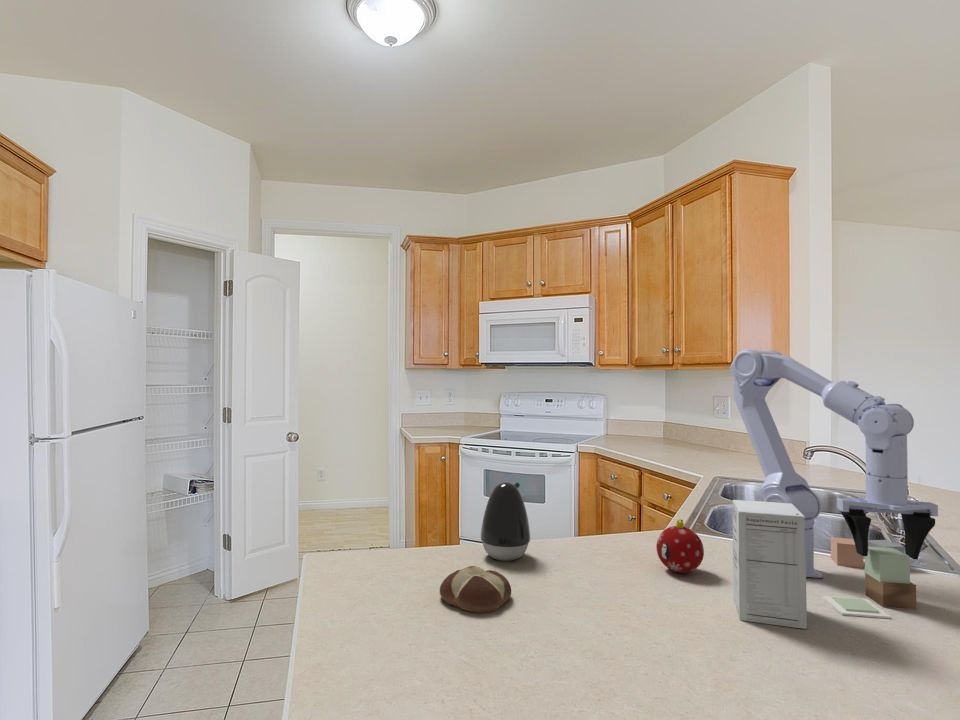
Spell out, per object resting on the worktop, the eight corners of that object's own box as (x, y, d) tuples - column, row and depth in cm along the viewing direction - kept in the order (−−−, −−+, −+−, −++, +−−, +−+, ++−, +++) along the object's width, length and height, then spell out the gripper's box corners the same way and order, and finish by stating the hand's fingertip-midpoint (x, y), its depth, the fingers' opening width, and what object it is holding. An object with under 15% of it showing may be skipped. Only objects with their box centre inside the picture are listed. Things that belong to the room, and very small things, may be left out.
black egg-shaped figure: (538, 554, 114) (539, 481, 114) (515, 568, 105) (515, 489, 105) (497, 545, 119) (497, 476, 120) (470, 558, 110) (471, 483, 111)
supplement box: (795, 606, 89) (794, 502, 90) (809, 630, 80) (808, 516, 81) (731, 598, 92) (731, 498, 93) (737, 620, 84) (737, 510, 84)
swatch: (841, 615, 86) (841, 611, 86) (821, 597, 93) (821, 593, 93) (890, 618, 85) (890, 614, 85) (866, 600, 92) (866, 597, 92)
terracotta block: (837, 565, 110) (837, 543, 110) (830, 558, 114) (830, 537, 114) (863, 568, 108) (863, 545, 108) (855, 561, 112) (855, 539, 113)
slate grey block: (883, 569, 107) (883, 546, 108) (865, 562, 112) (865, 540, 112) (904, 569, 108) (904, 546, 108) (885, 561, 112) (885, 539, 113)
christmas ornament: (714, 575, 103) (714, 522, 103) (680, 582, 99) (680, 527, 99) (679, 561, 110) (679, 512, 111) (646, 567, 107) (647, 516, 107)
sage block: (880, 582, 90) (879, 554, 90) (864, 572, 94) (864, 546, 95) (910, 583, 89) (909, 556, 90) (893, 574, 94) (892, 547, 94)
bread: (479, 621, 83) (479, 587, 83) (428, 599, 90) (429, 569, 91) (524, 600, 91) (524, 569, 91) (474, 582, 99) (475, 554, 99)
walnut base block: (883, 608, 89) (882, 583, 89) (865, 596, 94) (865, 572, 94) (916, 610, 89) (916, 585, 89) (896, 597, 94) (896, 574, 94)
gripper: (851, 477, 90) (852, 560, 89) (950, 481, 87) (951, 567, 87) (831, 470, 97) (831, 547, 96) (922, 474, 94) (922, 553, 94)
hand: (886, 556), depth 92 cm, fingers open, 7 cm apart
